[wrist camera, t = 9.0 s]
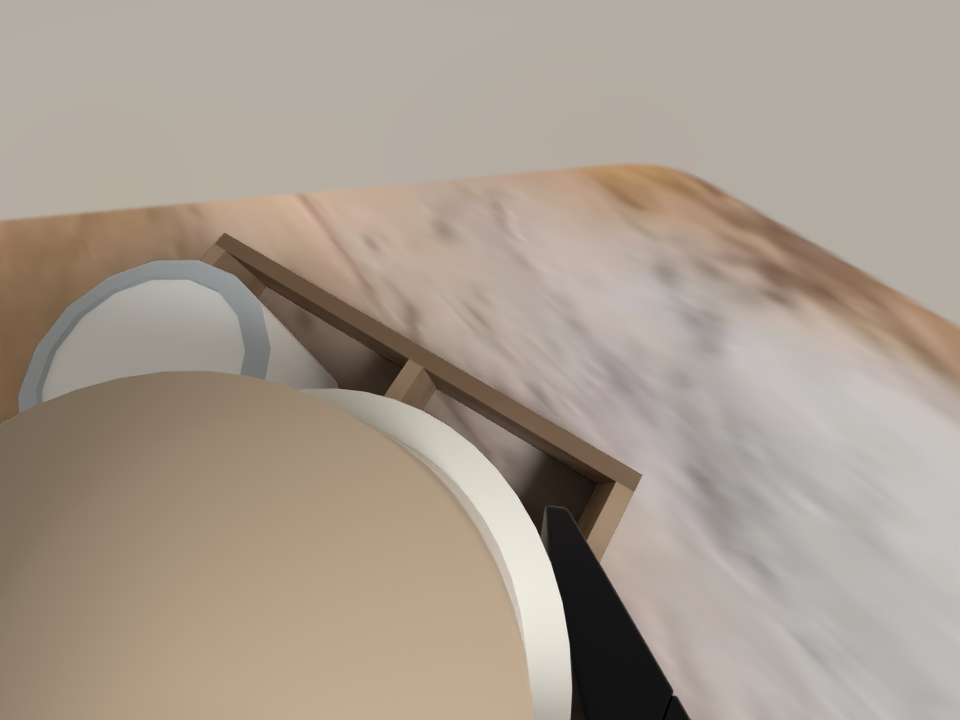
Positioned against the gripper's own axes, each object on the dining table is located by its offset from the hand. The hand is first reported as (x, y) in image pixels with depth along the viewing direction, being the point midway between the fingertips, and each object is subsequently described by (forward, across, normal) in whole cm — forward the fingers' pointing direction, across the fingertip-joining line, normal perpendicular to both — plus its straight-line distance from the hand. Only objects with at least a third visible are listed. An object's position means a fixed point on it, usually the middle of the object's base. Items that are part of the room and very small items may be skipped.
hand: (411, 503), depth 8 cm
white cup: (+8, +8, +4) cm, 12 cm away
